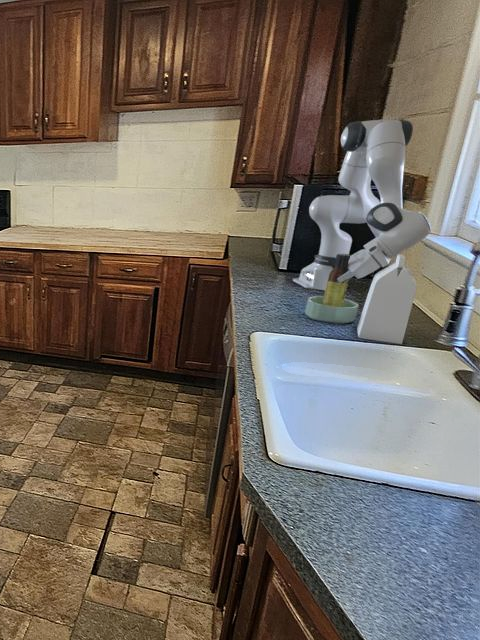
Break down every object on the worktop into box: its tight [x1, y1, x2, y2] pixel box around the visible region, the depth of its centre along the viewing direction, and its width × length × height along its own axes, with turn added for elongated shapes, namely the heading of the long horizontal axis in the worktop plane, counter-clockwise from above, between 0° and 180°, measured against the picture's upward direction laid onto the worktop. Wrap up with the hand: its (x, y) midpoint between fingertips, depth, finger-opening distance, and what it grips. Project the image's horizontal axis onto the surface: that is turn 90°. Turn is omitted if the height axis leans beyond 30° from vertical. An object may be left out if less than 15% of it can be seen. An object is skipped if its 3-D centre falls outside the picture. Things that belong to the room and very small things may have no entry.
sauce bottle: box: [322, 253, 351, 307], centre depth 185 cm, size 7×6×20 cm
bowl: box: [304, 295, 360, 325], centre depth 189 cm, size 16×16×6 cm
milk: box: [356, 253, 418, 345], centre depth 167 cm, size 12×12×26 cm
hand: (336, 278), depth 185 cm, fingers closed on sauce bottle, 6 cm apart
